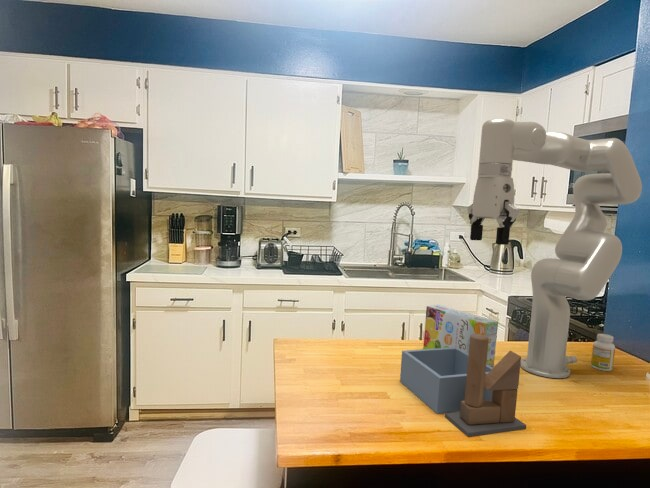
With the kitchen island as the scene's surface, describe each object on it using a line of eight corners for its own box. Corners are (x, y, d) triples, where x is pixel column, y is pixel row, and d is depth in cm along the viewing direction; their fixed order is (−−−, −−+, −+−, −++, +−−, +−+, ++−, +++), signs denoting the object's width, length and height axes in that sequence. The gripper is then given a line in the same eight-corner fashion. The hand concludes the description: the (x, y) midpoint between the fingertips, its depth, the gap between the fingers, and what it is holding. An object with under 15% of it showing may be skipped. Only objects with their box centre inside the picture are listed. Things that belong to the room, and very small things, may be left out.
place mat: (499, 410, 96) (499, 406, 96) (525, 428, 89) (526, 424, 88) (444, 416, 92) (445, 413, 92) (468, 436, 84) (468, 433, 84)
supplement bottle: (599, 363, 129) (603, 332, 128) (617, 370, 124) (621, 338, 123) (586, 365, 128) (590, 333, 127) (603, 372, 122) (607, 339, 121)
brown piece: (515, 422, 89) (523, 338, 87) (468, 425, 87) (475, 339, 85) (504, 413, 93) (512, 332, 91) (458, 416, 90) (465, 333, 89)
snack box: (494, 375, 116) (499, 320, 115) (481, 379, 113) (486, 323, 112) (434, 350, 134) (437, 303, 132) (421, 353, 130) (425, 304, 129)
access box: (454, 376, 114) (456, 347, 113) (498, 406, 98) (501, 372, 97) (399, 381, 109) (402, 350, 108) (436, 413, 93) (439, 378, 92)
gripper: (534, 171, 98) (526, 246, 99) (484, 174, 114) (478, 239, 116) (506, 169, 95) (499, 246, 97) (460, 172, 112) (454, 238, 113)
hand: (488, 242), depth 106 cm, fingers open, 9 cm apart
